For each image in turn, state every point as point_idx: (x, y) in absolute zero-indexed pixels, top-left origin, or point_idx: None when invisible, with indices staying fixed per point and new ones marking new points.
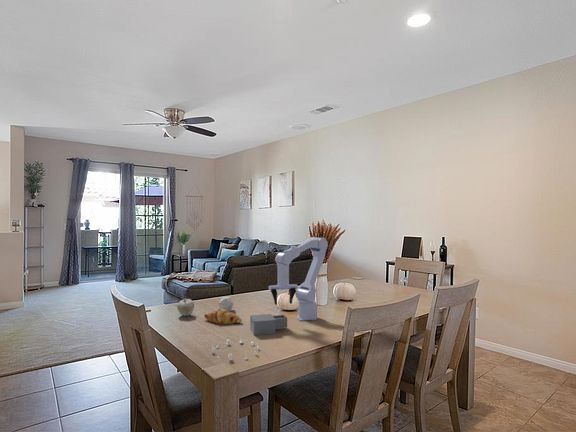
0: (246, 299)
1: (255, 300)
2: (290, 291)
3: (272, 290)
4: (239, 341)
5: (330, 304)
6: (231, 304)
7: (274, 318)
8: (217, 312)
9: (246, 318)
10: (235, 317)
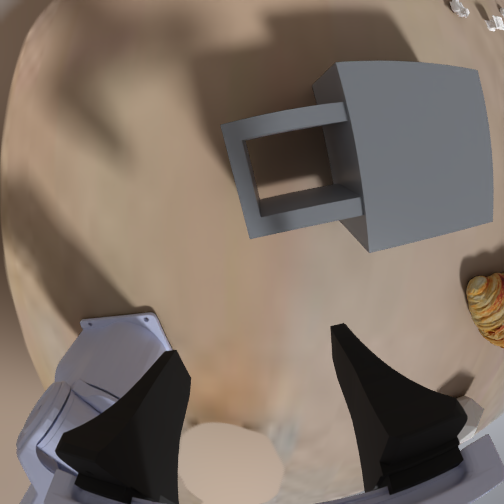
0: (357, 478)
1: (334, 478)
2: (146, 469)
3: (445, 453)
4: (465, 17)
5: None
6: None
7: (347, 101)
8: None
9: (426, 347)
10: (496, 290)
